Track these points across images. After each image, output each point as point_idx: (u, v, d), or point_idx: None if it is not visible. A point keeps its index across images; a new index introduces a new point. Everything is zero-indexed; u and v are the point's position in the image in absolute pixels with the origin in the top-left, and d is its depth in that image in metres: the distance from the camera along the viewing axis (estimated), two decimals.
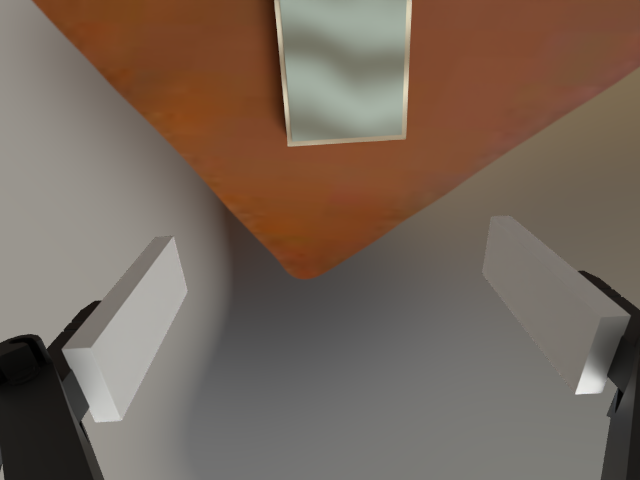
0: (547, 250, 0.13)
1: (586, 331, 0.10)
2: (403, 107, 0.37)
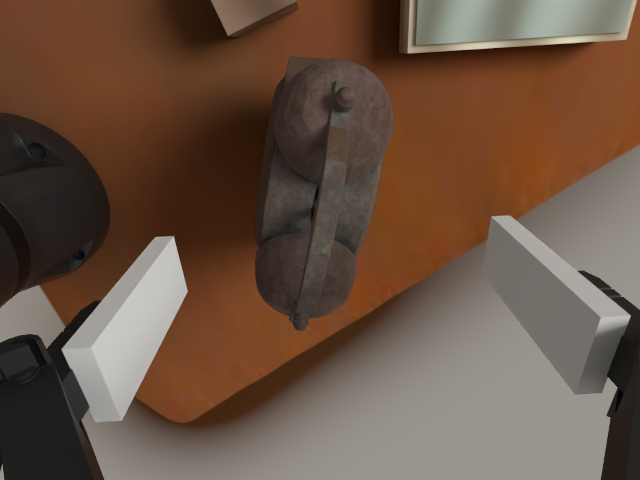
0: (547, 250, 0.13)
1: (586, 331, 0.10)
2: None
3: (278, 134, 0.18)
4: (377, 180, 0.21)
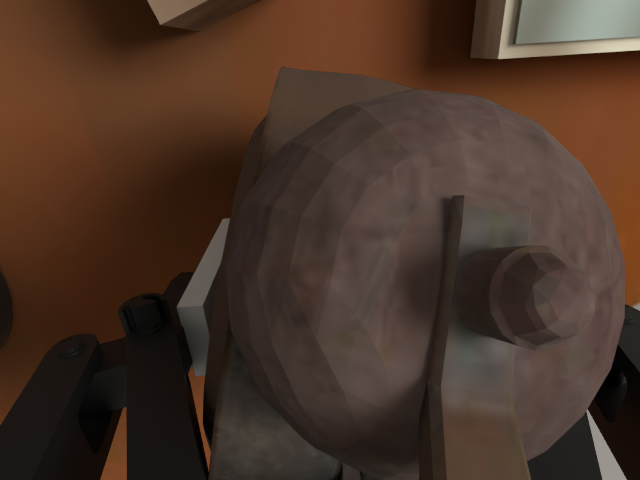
0: None
1: None
2: None
3: (233, 336, 0.05)
4: None
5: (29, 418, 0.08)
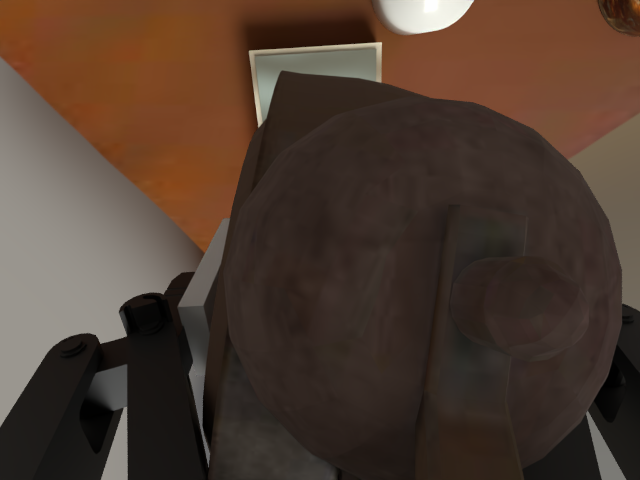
0: None
1: None
2: None
3: (231, 341, 0.05)
4: None
5: (30, 418, 0.08)
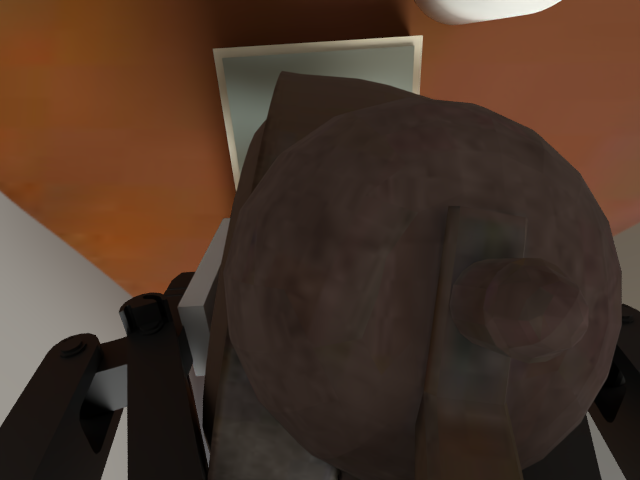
0: None
1: None
2: None
3: (231, 342, 0.05)
4: None
5: (30, 418, 0.08)
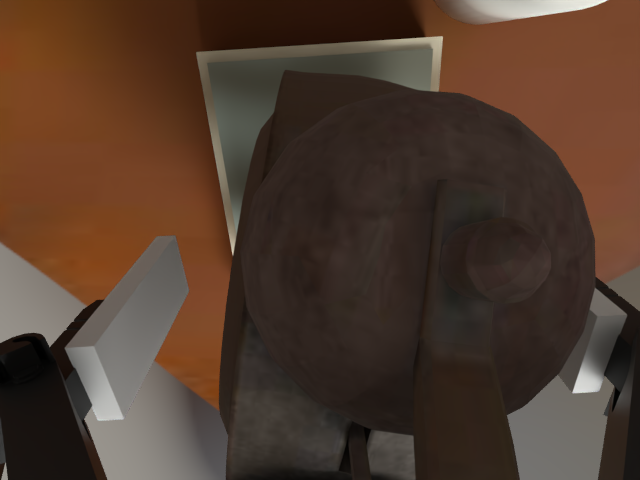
0: None
1: None
2: None
3: (250, 312, 0.06)
4: None
5: None
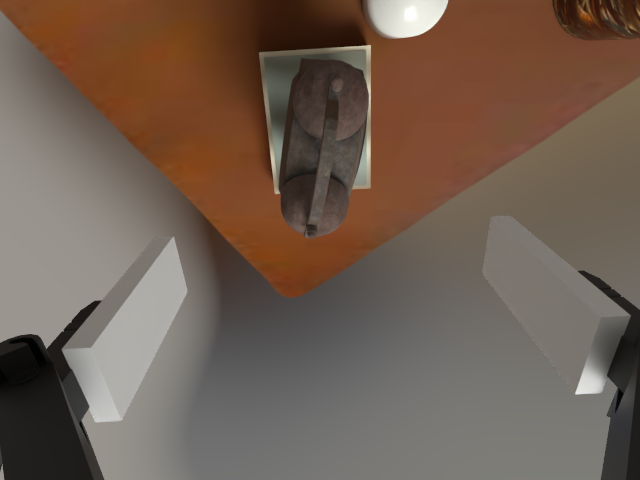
0: (547, 250, 0.13)
1: (586, 331, 0.10)
2: (367, 164, 0.47)
3: (296, 107, 0.29)
4: (361, 139, 0.31)
5: None
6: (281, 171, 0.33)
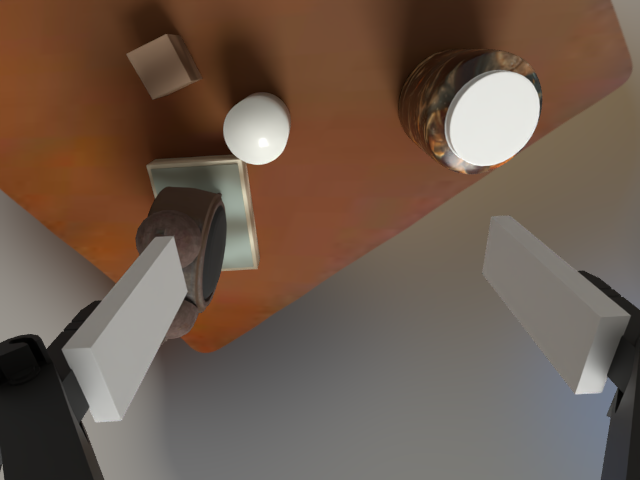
0: (547, 250, 0.13)
1: (586, 331, 0.10)
2: (251, 250, 0.54)
3: None
4: (200, 264, 0.38)
5: None
6: None
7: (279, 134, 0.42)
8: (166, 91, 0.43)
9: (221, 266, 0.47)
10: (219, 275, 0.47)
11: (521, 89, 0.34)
